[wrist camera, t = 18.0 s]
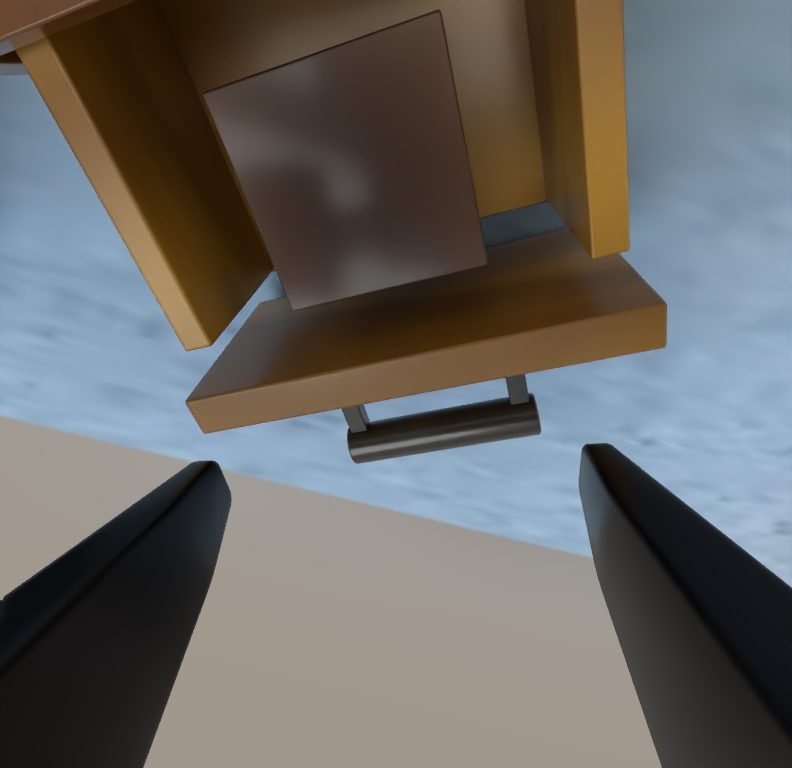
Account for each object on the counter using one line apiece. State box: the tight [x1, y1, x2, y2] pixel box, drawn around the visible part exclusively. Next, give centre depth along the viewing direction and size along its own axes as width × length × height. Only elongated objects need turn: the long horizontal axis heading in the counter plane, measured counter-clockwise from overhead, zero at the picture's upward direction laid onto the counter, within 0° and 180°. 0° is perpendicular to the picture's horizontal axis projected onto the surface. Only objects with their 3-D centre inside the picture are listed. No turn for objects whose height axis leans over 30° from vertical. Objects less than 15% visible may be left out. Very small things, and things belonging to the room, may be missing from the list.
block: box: [202, 10, 488, 311], centre depth 13 cm, size 5×5×5 cm
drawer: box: [16, 0, 667, 464], centre depth 14 cm, size 17×12×7 cm
